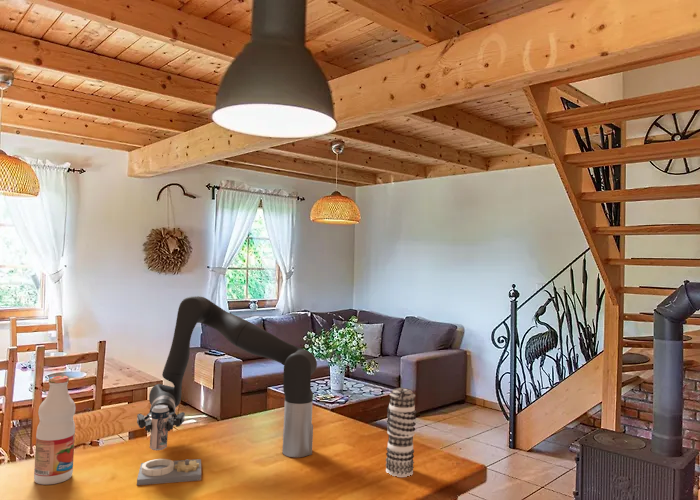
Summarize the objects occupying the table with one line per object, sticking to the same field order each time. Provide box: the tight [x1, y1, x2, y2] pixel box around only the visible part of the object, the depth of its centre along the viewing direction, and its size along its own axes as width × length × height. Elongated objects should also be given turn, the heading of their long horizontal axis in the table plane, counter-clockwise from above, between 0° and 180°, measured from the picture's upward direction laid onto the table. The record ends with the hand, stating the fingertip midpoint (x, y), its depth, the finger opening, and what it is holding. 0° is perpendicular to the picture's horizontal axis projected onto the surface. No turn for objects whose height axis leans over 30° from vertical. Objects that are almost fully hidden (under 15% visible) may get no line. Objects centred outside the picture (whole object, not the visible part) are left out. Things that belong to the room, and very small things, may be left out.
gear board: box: [136, 458, 202, 486], centre depth 151 cm, size 17×12×4 cm
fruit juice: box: [33, 375, 76, 486], centre depth 145 cm, size 9×9×28 cm
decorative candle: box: [385, 387, 418, 478], centre depth 160 cm, size 9×9×25 cm
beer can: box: [149, 405, 169, 451], centre depth 150 cm, size 5×5×12 cm
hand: (159, 428), depth 148 cm, fingers closed on beer can, 4 cm apart
